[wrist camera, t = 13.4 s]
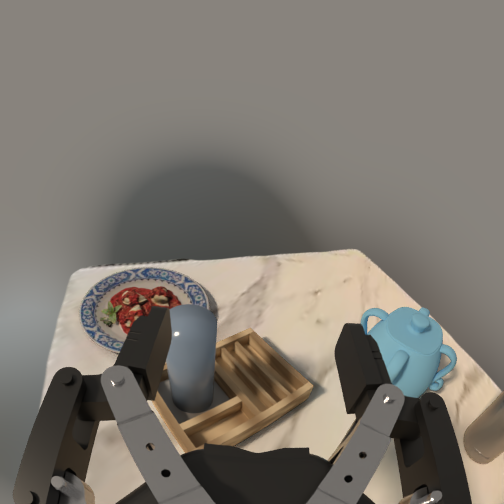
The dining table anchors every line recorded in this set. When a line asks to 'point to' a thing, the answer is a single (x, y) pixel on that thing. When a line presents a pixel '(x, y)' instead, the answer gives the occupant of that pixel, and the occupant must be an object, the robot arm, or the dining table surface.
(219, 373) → the wooden compartment tray
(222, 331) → the dining table surface
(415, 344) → the decorative pot
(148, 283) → the ceramic plate
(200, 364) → the pale blue cylinder
